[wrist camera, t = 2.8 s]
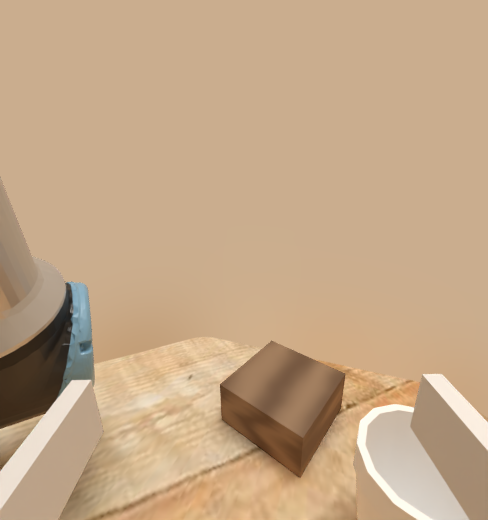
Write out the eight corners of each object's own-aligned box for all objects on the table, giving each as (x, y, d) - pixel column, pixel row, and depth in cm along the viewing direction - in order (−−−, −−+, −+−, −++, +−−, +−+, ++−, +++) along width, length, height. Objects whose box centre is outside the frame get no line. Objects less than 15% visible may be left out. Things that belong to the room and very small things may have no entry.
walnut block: (221, 419, 38) (220, 384, 36) (271, 371, 47) (271, 340, 45) (300, 477, 31) (303, 438, 29) (340, 407, 40) (345, 373, 38)
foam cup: (491, 605, 22) (547, 495, 18) (410, 690, 19) (456, 579, 14) (388, 485, 30) (410, 391, 26) (319, 529, 27) (331, 428, 22)
